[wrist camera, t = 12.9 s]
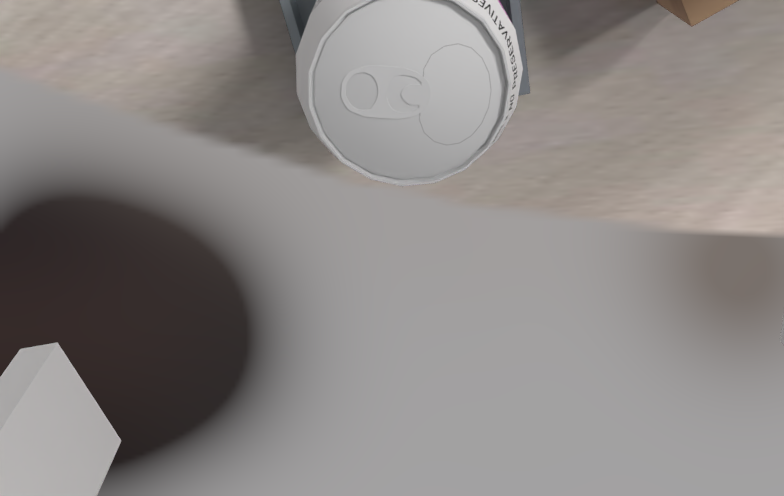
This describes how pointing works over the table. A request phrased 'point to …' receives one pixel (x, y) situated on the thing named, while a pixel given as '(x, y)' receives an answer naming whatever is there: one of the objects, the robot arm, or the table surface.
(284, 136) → the table surface
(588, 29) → the table surface
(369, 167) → the supplement can
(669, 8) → the walnut block
